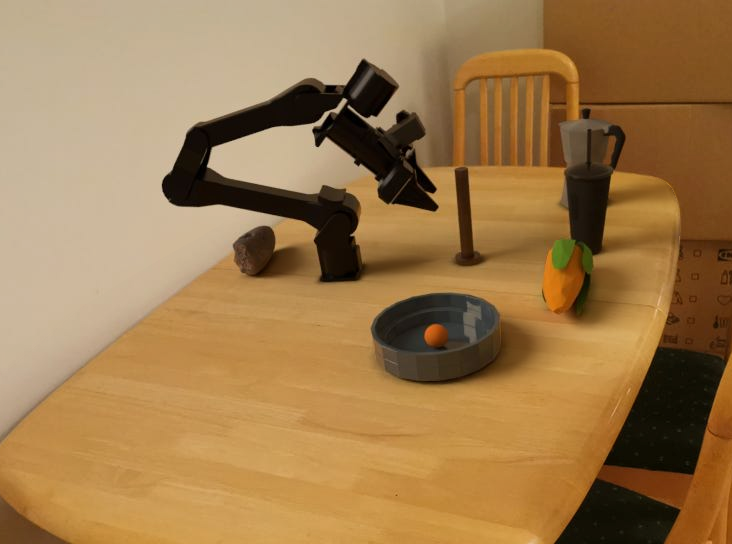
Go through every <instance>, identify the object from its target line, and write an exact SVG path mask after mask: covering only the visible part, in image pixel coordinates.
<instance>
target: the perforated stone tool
mask: <svg viewBox="0 0 732 544" xmlns="http://www.w3.org/2000/svg"><path fill="white" fill-rule="evenodd" d="M276 240H277V239H276V233H275V231H274V230H273V228H272V227H271V226H270V225H259V226H256V227H253V228H252V229H250V230H249V231H246V232H245V233H243V234H242V235H241V236H239V237H238V238H237V239H236V240H234V242H233V243H232V248H233V251H234V257H233V262H234V264H235V265H236V266H237V267H238V269H239V271H240V273H241V274H245V275H250V276H251V275H252V276H255V275H256V274H258V273H259V272H261V271H262V270H264V268H265V267H266V266H267V264H268V263H269V262H270V260H271V258H272V256H273V254H274V251H275V249H276V248H275V247H276V243H277V242H276Z"/></svg>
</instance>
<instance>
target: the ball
mask: <svg viewBox="0 0 732 544" xmlns="http://www.w3.org/2000/svg"><path fill="white" fill-rule="evenodd" d="M447 340H448V332H447V330H446V329H445V328H444V327H443V326H442V325H439V324H434V325H431V326H429V327H428V328H427V330H426V331H425V341H426V343H427V344H428V345H429V346H431V347H433V348H439V347H442V346H443V345H445V344H446V342H447Z"/></svg>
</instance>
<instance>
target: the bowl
mask: <svg viewBox="0 0 732 544" xmlns="http://www.w3.org/2000/svg"><path fill="white" fill-rule="evenodd" d="M434 324H439V325H442V326H443V327H444V328H445V329H446V330H447V332H448V340H447V342H446V344H445V345H443V346H442V347H439V348H433V347H431V346H429V345H428V344H427V343H426V341H425V331H426V330H427V328H428V327H429V326H431V325H434ZM369 328H370V335H371V341H372V346H373V354H374V358H375V362H376V363H377V364H378V365H379V366H380V367H381V368H382V369H383V371H385V372H387V373H389V374H391V375H393V376H395V377H398V378H401V379H405V380H413V381H418V382H427V381H428V382H430V381H431V382H432V381H435V382H436V381H439V382H440V381H445V380H452V379H456V378H462V377H464V376H467V375H469V374H472V373H474V372H477V371H480V370H481V369H483V368H484V367H485V366H487V365H489V364H490V363H491V362H493V361H494V360H495V358H496V357H497V355H498V354H499V352H501V349H502V328H501V314H500V312H499V311H498V309H497V308H496V306H495V304H493V303H491V302H489V301H488V300H486V299H485V298H482V297H480V296H475V295H472V294H469V293H462V292H461V293H460V292H451V291H450V292H431V293H425V294H419V295H415V296H411V297H407V298H405V299H402V300H399V301H397V302H396V301H395V303H393V304H391V305H389V306H387V307H386V308H384V309H383V310H382V311H380V312H379V313H378V314H377V315H376V316H375V317H374V318H373V321H372V323H371V326H370V327H369Z"/></svg>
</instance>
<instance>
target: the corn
mask: <svg viewBox="0 0 732 544" xmlns="http://www.w3.org/2000/svg"><path fill="white" fill-rule="evenodd" d="M594 266H595V265H594V257H593V255H592V252H591V250H590V249H589V248H588V247H587V246H586V245H585V244H584V243H583V242H578V243H577V244H576V245H575V240H571V238H561V239H558V240H555V241H554V243H553V247H552V248H551V249H550V250H549V251H548V253H547V257H546V260H545V266H544V274H543V278H542V284H541V286H542V287H541V288H542V289H541V293H542V298H543V301H544V303H546V306H547V309H548V310H550V311H551V312H552V313H555V314H556V315H560V314H562V313H564V312H566V311H568V310H569V309H571V308H572V306H573V304H574V302H575V301H576V299H577V301H576V311H575V314H576V315H577V316H579V315H580V314H581V312H582V311H583V308H584V306H585V305H586V302H587V300H588V298H589V293H590V289H591V283H592V282H591V280H592V273H593V269H594Z"/></svg>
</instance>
